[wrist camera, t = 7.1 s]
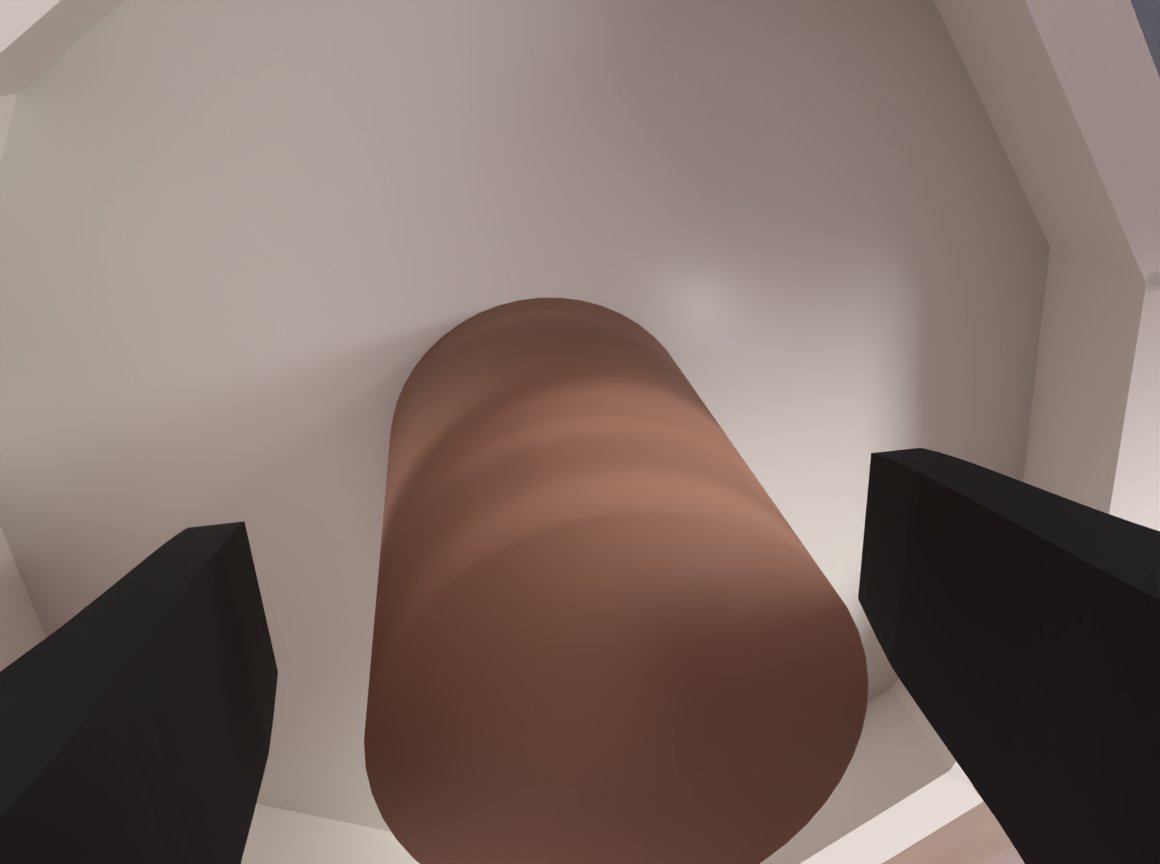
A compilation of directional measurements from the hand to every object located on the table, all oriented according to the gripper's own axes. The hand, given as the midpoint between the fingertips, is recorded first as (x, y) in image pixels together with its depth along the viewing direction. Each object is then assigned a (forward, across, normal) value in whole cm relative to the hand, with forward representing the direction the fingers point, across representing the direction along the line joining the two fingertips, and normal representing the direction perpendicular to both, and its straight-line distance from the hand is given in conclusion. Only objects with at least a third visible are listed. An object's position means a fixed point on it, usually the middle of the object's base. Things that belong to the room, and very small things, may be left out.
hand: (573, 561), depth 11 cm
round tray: (+4, 0, 0) cm, 4 cm away
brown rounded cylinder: (+3, 0, 0) cm, 3 cm away
